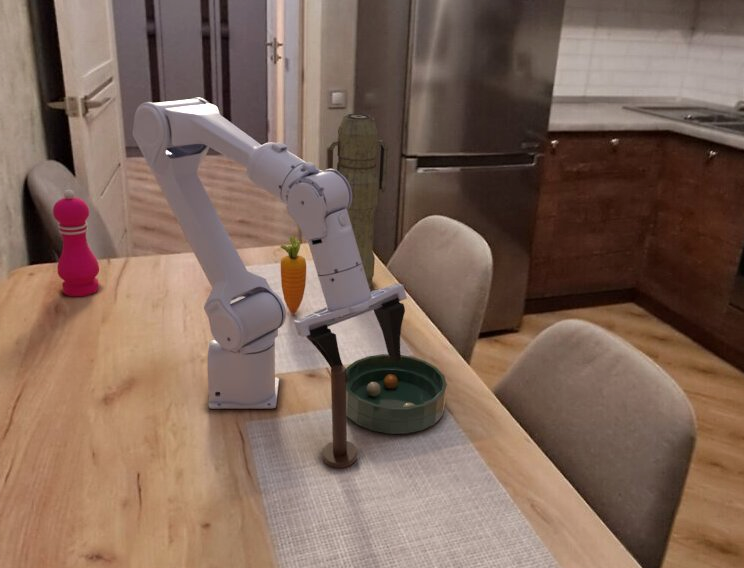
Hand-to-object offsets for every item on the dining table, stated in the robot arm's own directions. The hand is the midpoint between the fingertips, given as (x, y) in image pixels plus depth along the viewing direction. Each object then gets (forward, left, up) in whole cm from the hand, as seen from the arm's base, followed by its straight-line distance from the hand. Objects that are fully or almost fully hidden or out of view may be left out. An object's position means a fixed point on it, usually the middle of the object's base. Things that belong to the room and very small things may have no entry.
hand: (369, 370), depth 85 cm
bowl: (+5, +10, -12) cm, 16 cm away
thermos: (0, +55, -12) cm, 56 cm away
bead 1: (+2, +12, -10) cm, 15 cm away
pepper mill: (-52, +50, -12) cm, 73 cm away
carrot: (-11, +41, -12) cm, 44 cm away
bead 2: (+5, +14, -10) cm, 18 cm away
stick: (-3, -2, -11) cm, 12 cm away
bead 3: (+7, +6, -10) cm, 13 cm away
